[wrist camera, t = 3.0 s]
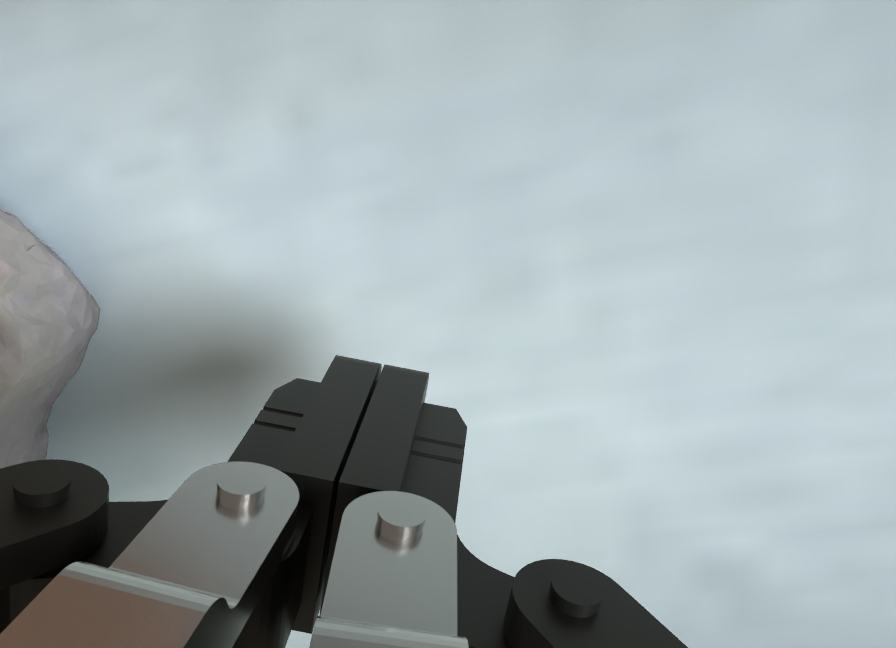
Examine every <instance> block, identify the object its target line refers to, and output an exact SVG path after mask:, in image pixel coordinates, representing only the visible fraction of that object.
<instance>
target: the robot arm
mask: <svg viewBox="0 0 896 648" xmlns="http://www.w3.org/2000/svg"><path fill="white" fill-rule="evenodd" d="M381 368H382V366H381V364H379V363H374V362H369V361H364V360H358V359H353V358H348V357H343V356H338V355H336V356H335V358H334V360H333V361H332V363H331V365H330V367H329V369H328V371H327V372H326V374H325V376H324V378H323V380H322V382H321V383H319V382H314V381H309V380H304V379H298V378H297V379H295V380H293V381H291V382H289V383H287V384H285V385H283V386H281V387H279V388H277V389H276V390H274V392H273V393H272V395H271V396H270V398H269V399H268V401H267V402H266V404H265V405H264V408H263V410H261V411H260V413H259V415H258V416H257V418H256V419H255V422H254V424H252V425H251V427H250V428H249V430H248V431H247V433H246V434H245V436H244V437H243V439H242V440H241V442H240V444H239V445H238V447H237V448H236V450H235V451H234V453H233V454H232V456H231V457H230V459H229V460H228V462H224V463H219V464H214V465H211V466H208V467H205V468H203V469H201V470H198V471H197V472H195V473H194V474H192V475H191V476H190V477H189V478H188V479H187V480H186V481H185V482H184V483H183V484H182V485H181V486H180V487H179V489H178V490H177V491H176V492H175V493H174V494H173V495H172V497H171V498H170V499H169V500H163V501H149V502H109V485H108V482H107V480H106V479H105V477H104V476H103V475H102V474H101V473H100V472H98V471H97V470H95V469H94V468H92V467H90V466H87V465H84V464H82V463H77V462H73V461H66V460H37V461H29V462H24V463H20V464H16V465H12V466H8V467H4V468H1V469H0V648H285V646H286V643H287V640H288V638H289V635H290V632H291V630H295V631H300V632H305V633H310V634H312V631H313V634H312V639H311V643H310V647H309V648H688V647H687V646H686V645H684V644H683V643H682V642H681V641H680V640H679V639H678V638H677V637H676V636H675V635H673V634H672V633H671V632H670V631H669V630H668V629H667V628H666V627H665V626H664V625H662V624H661V623H660V622H659V621H658V620H657V619H656V618H655V617H654V616H653V615H651V614H650V613H649V612H648V611H647V610H646V609H645V608H644V607H643V606H642V605H640V604H639V603H638V602H637V601H636V600H635V599H634V598H633V597H632V596H631V595H629V594H628V593H627V592H626V591H625V590H624V589H623V588H622V587H621V586H619V585H618V584H617V583H616V582H615V581H613V580H612V579H611V578H610V577H608V576H606V575H605V574H603V573H602V572H600V571H598V570H596V569H594V568H592V567H589V566H586V565H584V564H581V563H577V562H574V561H568V560H562V559H546V560H540V561H535V562H533V563H530V564H528V565H526V566H525V567H523V568H522V569H521V570H520V571H519V572H518V573H517V574H516V576H515V577H512V576H510V575H508V574H506V573H503V572H501V571H499V570H497V569H495V568H493V567H490V566H488V565H487V564H485V563H484V562H482V561H480V560H479V559H478V558H476V557H475V556H474V555H473V554H471V553H470V552H469V551H468V549H467V548H466V547H465V546H464V545H463V543H462V542H461V541H460V539H459V537H458V535H457V530H456V525H455V519H456V511H457V503H458V496H459V488H460V480H461V472H462V463H463V456H464V447H465V440H466V432H467V426H466V425H465V423H464V421H463V420H462V418H461V416H460V415H459V413H458V411H457V410H456V409H454V408H448V407H443V406H438V405H433V404H428V403H424V401H425V396H426V390H427V385H428V379H429V373H426V372H421V371H416V370H411V369H406V368H400V367H395V366H390V365H384V367H383V369H382V372H381ZM320 607H321V609H320ZM319 610H320V616H318V613H319ZM314 625H315V626H314ZM313 628H314V630H313Z"/></svg>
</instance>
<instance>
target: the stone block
mask: <svg viewBox="0 0 896 648" xmlns="http://www.w3.org/2000/svg"><path fill="white" fill-rule="evenodd" d="M99 313H100V308H99V306H98V305H97V303H96V301H95V300H94V298H93V297H92V296H91V295H90V294H89V292H88V291H87V290H86V289H85V287H84V286H83V285H82V284H81V283H80V281H79V280H78V279H77V278H76V276H75V275H74V274H73V272H72V271H71V270H70V268H69V267H68V266H67V265H66V264H65V263H64V262H63V261H62V260H61V258H60V257H59V256H58V255H57V254H56V253H54V252H53V251H52V250H51V249H50V248H49V247H47V246H46V245H44V244H43V243H41V242H40V241H39V240H38V239H37V238H36V237H35V236H34V235H33V234H32V233H31V232H30V231H29V230H28V229H27V228H26V227H25V226H24V225H23V224H22V223H21V222H20V220H19V219H18V218H17V217H16V216H14V215H11V214H9V213H6V212H4V211H2V210H1V209H0V469H1V468H4V467H8V466H12V465H16V464H20V463H24V462H29V461H37V460H45V459H46V455H47V446H48V432H47V428H46V424H47V421H48V418H49V414H50V411H51V408H52V405H53V403H54V401H55V400H56V399H57V397H58V396H59V395H60V393H61V391H62V390H63V388H64V386H65V385H66V383H67V382H68V380H69V379H71V378H72V376H73V375H74V374H75V373H76V371H77V370H78V369H79V368H80V365H81V362H82V360H83V357H84V354H85V352H86V349H87V345H88V343H89V340H90V338H91V336H92V335H93V334H94V332H95V331H96V329H97V324H98V320H99Z"/></svg>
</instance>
